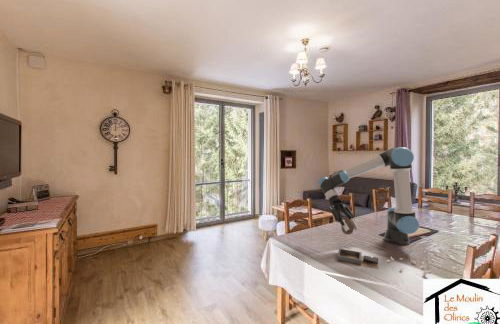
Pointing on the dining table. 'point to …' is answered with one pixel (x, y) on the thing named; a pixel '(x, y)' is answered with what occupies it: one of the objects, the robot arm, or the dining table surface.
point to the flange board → (363, 263)
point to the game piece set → (413, 263)
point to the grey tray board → (353, 260)
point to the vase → (348, 227)
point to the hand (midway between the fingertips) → (352, 229)
